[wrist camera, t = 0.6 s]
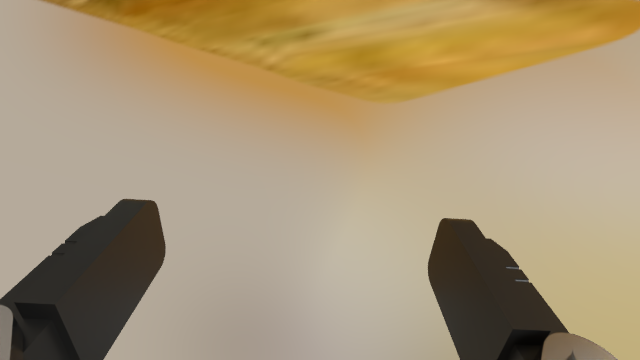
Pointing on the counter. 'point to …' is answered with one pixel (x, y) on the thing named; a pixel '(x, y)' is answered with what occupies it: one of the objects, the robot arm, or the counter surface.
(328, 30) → the counter surface
